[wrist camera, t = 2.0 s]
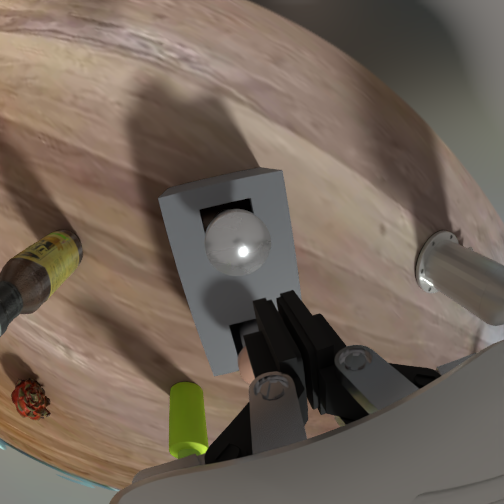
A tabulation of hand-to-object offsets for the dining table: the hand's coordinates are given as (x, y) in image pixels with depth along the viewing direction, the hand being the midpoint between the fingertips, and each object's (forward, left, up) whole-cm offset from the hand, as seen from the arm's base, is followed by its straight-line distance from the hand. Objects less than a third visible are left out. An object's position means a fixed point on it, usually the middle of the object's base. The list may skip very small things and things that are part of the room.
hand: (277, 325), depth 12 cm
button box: (0, +7, -27) cm, 28 cm away
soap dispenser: (+14, +30, -27) cm, 43 cm away
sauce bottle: (+23, 0, -27) cm, 36 cm away
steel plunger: (0, 0, -19) cm, 19 cm away
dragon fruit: (+46, +25, -27) cm, 59 cm away
